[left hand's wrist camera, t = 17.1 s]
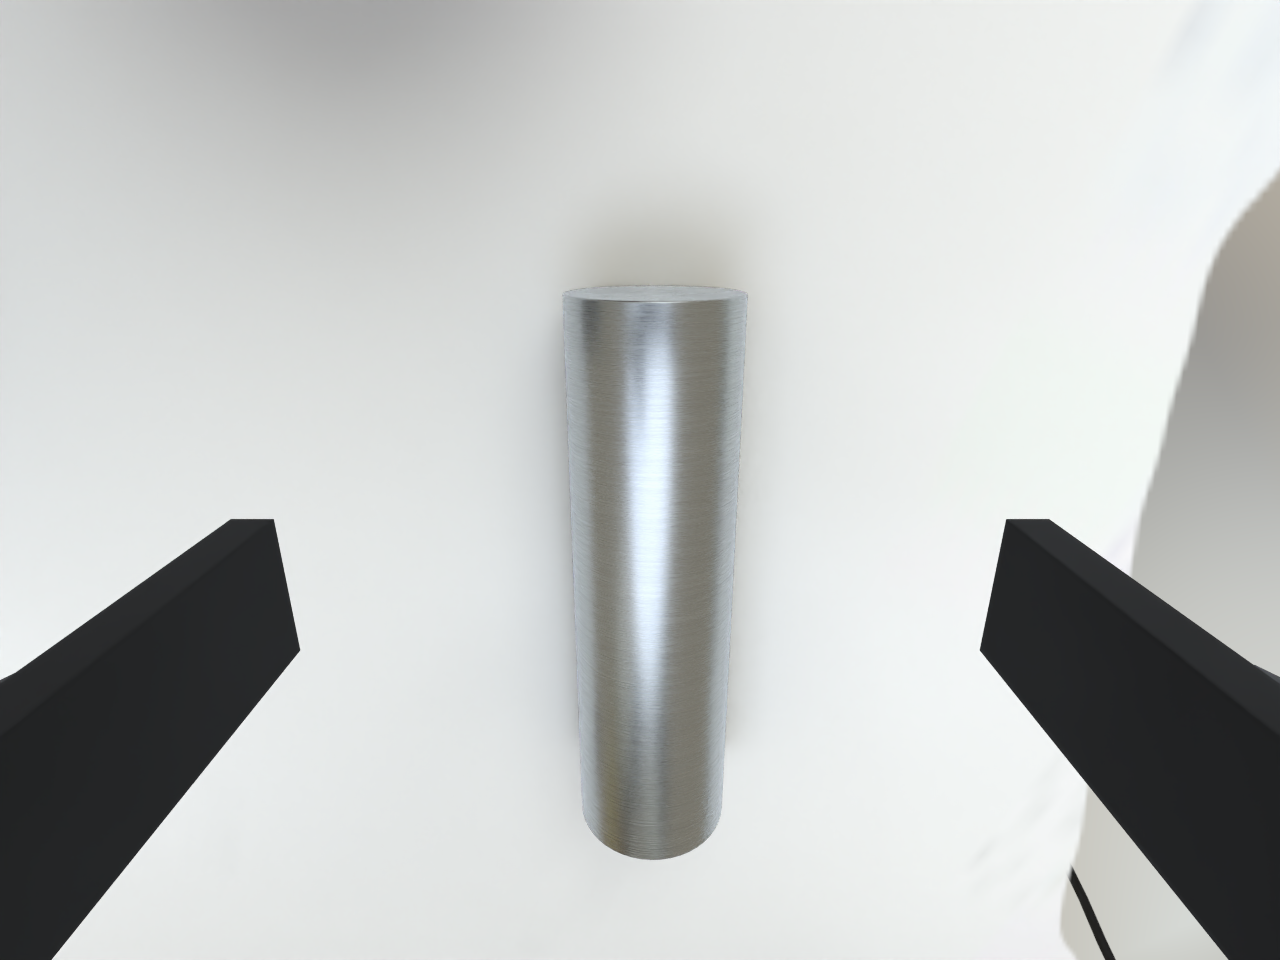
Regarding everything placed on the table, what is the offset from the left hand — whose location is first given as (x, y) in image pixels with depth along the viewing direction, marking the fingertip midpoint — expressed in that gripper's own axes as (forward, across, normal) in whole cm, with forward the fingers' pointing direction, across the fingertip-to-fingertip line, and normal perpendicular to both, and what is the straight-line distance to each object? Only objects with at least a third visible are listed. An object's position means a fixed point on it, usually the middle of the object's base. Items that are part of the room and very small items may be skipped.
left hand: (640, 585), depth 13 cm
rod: (+22, +1, -10) cm, 24 cm away
